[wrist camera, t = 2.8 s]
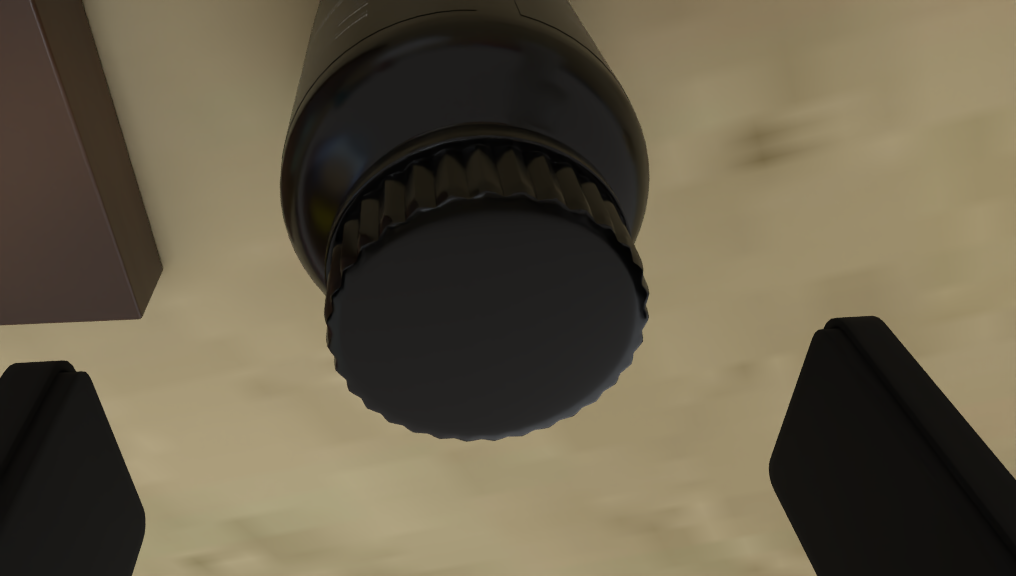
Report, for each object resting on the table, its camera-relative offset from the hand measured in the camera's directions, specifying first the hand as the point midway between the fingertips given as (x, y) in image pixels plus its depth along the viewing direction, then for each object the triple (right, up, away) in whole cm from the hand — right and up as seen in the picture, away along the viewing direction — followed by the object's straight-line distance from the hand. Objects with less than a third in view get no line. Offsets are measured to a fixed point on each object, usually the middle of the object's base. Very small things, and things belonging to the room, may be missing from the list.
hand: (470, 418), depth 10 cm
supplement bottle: (-1, +8, +10) cm, 13 cm away
